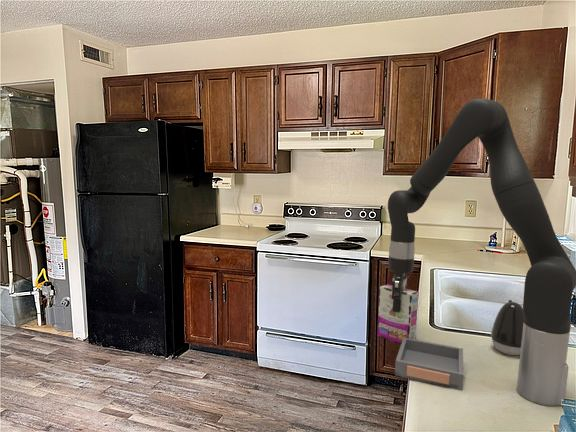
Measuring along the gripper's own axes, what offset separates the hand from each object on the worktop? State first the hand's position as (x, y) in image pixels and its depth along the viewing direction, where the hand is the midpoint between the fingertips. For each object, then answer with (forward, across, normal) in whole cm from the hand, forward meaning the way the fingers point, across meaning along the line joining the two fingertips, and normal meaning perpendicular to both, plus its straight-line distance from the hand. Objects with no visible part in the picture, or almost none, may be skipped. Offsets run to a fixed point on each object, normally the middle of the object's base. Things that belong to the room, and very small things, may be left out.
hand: (397, 308), depth 125 cm
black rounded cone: (+10, +7, -32) cm, 34 cm away
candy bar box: (+10, 0, 0) cm, 10 cm away
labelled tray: (+10, -15, -11) cm, 21 cm away
